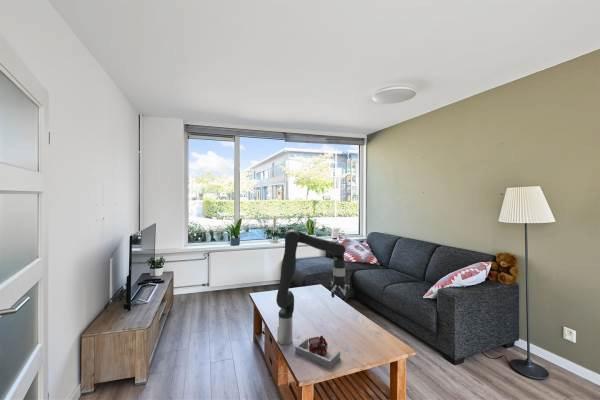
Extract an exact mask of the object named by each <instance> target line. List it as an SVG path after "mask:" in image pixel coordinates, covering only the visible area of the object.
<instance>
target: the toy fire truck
mask: <svg viewBox="0 0 600 400" xmlns="http://www.w3.org/2000/svg"><path fill="white" fill-rule="evenodd" d="M327 350H328V342H327V340H326V338H325V337H324V336H323V335H320V336H314V337H309V338H308V351H310V352H312V353H315V354H317V355H319V356H322V357H324V356H326V355H327V353H328V351H327Z"/></svg>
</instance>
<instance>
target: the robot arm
mask: <svg viewBox="0 0 600 400" xmlns="http://www.w3.org/2000/svg"><path fill="white" fill-rule="evenodd" d="M284 235H285V236H284V253H283V257H282V261H281V267H280V277H279V284H278V290H277V294H276V304H277V306H278V307H279V308H280V310H279V311H278V325H277V328H276V329H277V335H276V338H277V342H278V344H280V345H281V346H288V345H290V344H292V343H293V317H294V315H293V314H294V311H295V296H294V293H293V292H292V291H291V290H289V289H290V286H291V283H292V281H293V279H294V277H295V273H296V269H297V268H296V267H297V249H298V245H299V243H300V244H305V245H308V246H309V247H312V248H314V249H317V250H321V251H324V252H328V253H330V254H333V270H332V271H333V273H332V274H333V276H332V279H333V280H331V281H329V282H328V291H330V292H331V295H330V296H331V298H333V299H334V298H335V291H337V290H338V291H341V293H342V294H343V302H346V301H347V299H348V295H350V294H351V291H350V290H351V289H350V284H346V269H345V268H346V266H345V265H346V262H345V261H346V260H345V254H346V252H347V251H346V246H344V244H343V243H341V242H332V241H330V240H328V239H324V238H320V237H315V236H312V235H309V234H306V233H304V232H301V231H299V230H297V229H294V228H292V229H288V230H287V231H286V232H285V234H284Z"/></svg>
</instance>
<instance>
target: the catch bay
mask: <svg viewBox="0 0 600 400" xmlns="http://www.w3.org/2000/svg"><path fill="white" fill-rule="evenodd" d="M308 346H309V338H305V339H304V340H302V341H301V342H300V343H298V344H297V345H295V347H294V350H295V351H294V353H295V354H296V355H299V356H301V357H303V358H306V359H308V360H310V361H312V362H314V363H316V364H320V366H323V367H326V368H328V369H331V368H332V367H333V366H334V364H336V362H338V361H339V360H340V359H341V351H340V350H337V352H335V353H334V354H333V355H332V356H331V357H330V358H326V357H324V356H323V355H320V354H319V355H317V354H315V353H312V352H310V351H309V349H308V350H307V349H305V348H306V347H308Z"/></svg>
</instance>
